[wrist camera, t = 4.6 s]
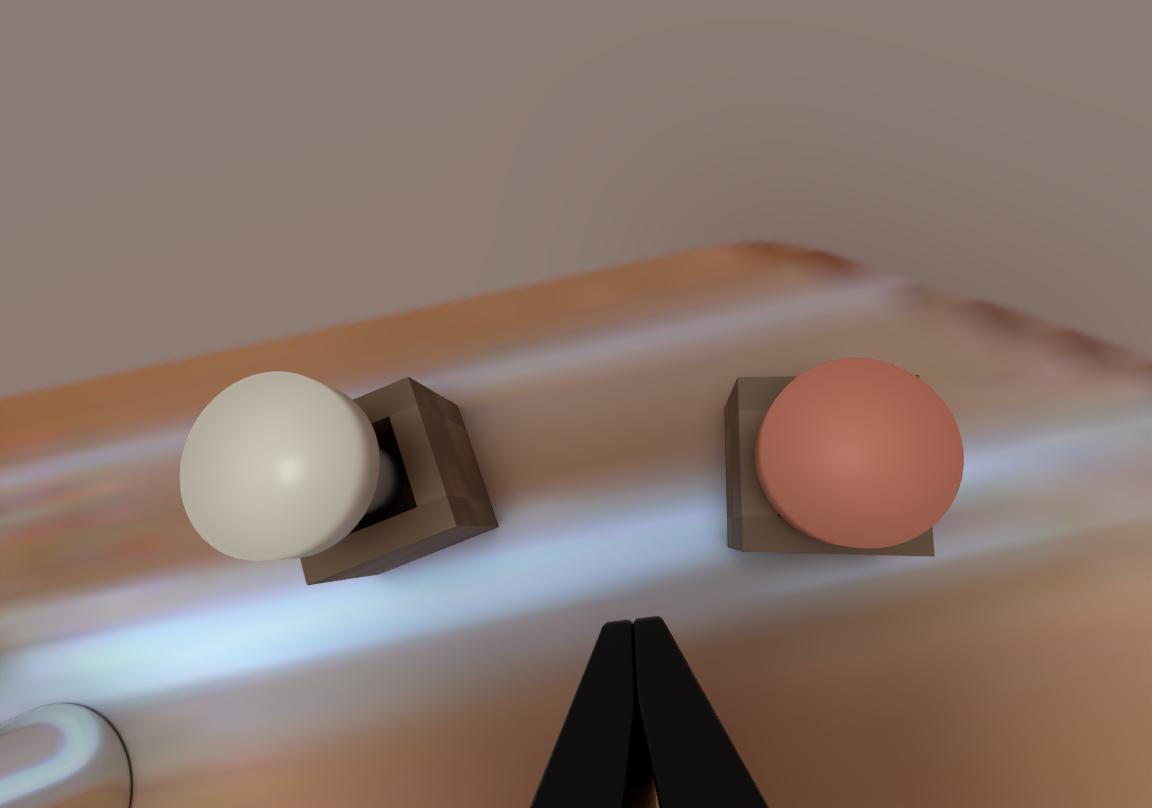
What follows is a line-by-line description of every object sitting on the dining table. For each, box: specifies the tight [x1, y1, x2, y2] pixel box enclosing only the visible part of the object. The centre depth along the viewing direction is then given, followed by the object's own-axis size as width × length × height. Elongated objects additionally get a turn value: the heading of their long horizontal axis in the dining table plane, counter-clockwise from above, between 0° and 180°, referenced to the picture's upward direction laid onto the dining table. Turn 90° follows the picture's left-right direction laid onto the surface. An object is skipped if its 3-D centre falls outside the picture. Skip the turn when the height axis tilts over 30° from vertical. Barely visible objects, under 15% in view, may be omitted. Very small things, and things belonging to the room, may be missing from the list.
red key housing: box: [724, 375, 934, 556], centre depth 19 cm, size 5×5×4 cm
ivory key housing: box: [300, 377, 498, 585], centre depth 20 cm, size 5×5×4 cm
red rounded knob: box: [755, 358, 964, 549], centre depth 16 cm, size 4×4×5 cm
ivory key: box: [180, 371, 405, 561], centre depth 17 cm, size 4×4×5 cm
